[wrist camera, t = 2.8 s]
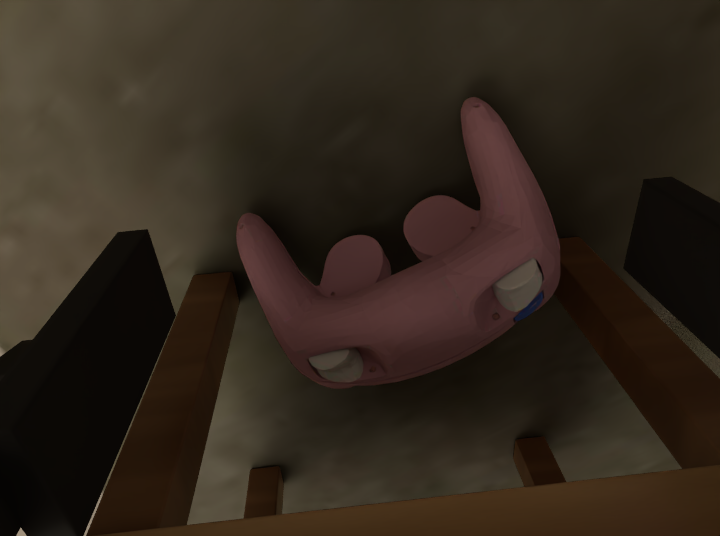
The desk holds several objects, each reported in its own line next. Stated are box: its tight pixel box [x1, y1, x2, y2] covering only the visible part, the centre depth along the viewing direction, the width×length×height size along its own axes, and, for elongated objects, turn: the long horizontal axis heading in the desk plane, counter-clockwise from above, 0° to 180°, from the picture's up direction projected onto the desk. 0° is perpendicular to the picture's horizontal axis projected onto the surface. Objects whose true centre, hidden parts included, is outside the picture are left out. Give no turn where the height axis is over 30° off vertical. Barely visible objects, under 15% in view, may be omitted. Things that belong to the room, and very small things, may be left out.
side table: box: [86, 237, 720, 536], centre depth 17 cm, size 14×16×12 cm
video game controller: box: [236, 97, 560, 389], centre depth 16 cm, size 10×5×7 cm, turn 117°
